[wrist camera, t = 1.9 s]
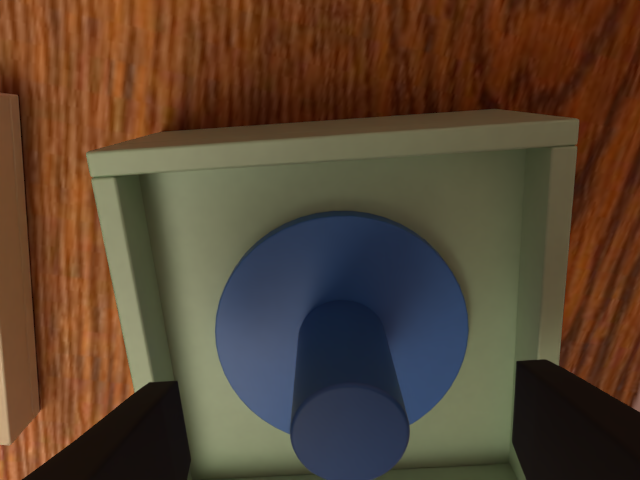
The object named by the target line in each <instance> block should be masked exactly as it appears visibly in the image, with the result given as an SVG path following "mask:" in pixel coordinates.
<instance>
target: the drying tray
mask: <svg viewBox="0 0 640 480" xmlns="http://www.w3.org/2000/svg"><path fill="white" fill-rule="evenodd" d="M39 412H40V407H39V392H38V378H37V363H36V348H35V334H34V319H33V304H32V290H31V275H30V260H29V246H28V231H27V216H26V202H25V187H24V172H23V157H22V143H21V128H20V113H19V99H18V95H16V94H7V93H0V445H11V444H12V443H13V442H14V440H15V439H16V438H17V437H18V436H19V435H20V434H21V432H22V431H23V430H24V429H25V428H26V427H27V426H28V424H29V423H30V422H31V421H32V419H34V418H35V417H36V415H37V414H38V413H39Z"/></svg>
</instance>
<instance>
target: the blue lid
mask: <svg viewBox="0 0 640 480" xmlns="http://www.w3.org/2000/svg"><path fill="white" fill-rule="evenodd" d="M468 332H469V327H468V313H467V308H466V303H465V299H464V296H463V293H462V291H461V288H460V285H459V283H458V282H457V280H456V278H455V276H454V274H453V272H452V271H451V269H450V268H449V267H448V265H447V264H446V262H445V261H444V260H443V258H442V257H441V256H440V254H439V253H438V252H437V251H436V250H435V249H434V248H433V247H432V246H431V245H430V244H429V243H428V242H427V241H426V240H425V239H423V238H422V237H421V236H419V235H418V234H417V233H415V232H414V231H412V230H410V229H409V228H407V227H405V226H403V225H402V224H400V223H397V222H395V221H393V220H390V219H388V218H385V217H382V216H378V215H374V214H370V213H364V212H357V211H329V212H321V213H315V214H311V215H307V216H303V217H300V218H297V219H295V220H292V221H290V222H287V223H285V224H283V225H281V226H280V227H278V228H276V229H274V230H272V231H271V232H269V233H268V234H267V235H265V236H264V237H263V238H261V239H260V240H259V241H257V242H256V243H255V244H254V245H253V246H252V247H251V248H250V249H249V250H248V251H247V252H246V253H245V254H244V256H243V257H242V258H241V260H240V261H239V262H238V264H237V265H236V266H235V268H234V270H233V272H232V273H231V275H230V277H229V279H228V281H227V283H226V285H225V287H224V290H223V293H222V295H221V298H220V300H219V305H218V309H217V314H216V323H215V338H216V348H217V352H218V357H219V361H220V363H221V366H222V369H223V371H224V374H225V376H226V378H227V380H228V381H229V383H230V385H231V387H232V388H233V390H234V391H235V393H236V394H237V395H238V397H239V398H240V399H241V400H242V401H243V402H244V404H245V405H246V406H247V407H248V408H249V409H250V410H251V411H253V412H254V413H255V414H256V415H257V416H259V417H260V418H261V419H262V420H264V421H266V422H267V423H269V424H270V425H272V426H273V427H275V428H277V429H279V430H281V431H283V432H286V433H288V434H290V439H291V444H292V447H293V450H294V452H295V454H296V456H297V457H298V459H299V460H300V462H301V463H302V464H303V465H304V466H305V467H306V468H307V469H308V470H309V471H311V472H312V473H314V474H315V475H317V476H319V477H321V478H323V479H326V480H373V479H375V478H377V477H380V476H382V475H383V474H385V473H387V472H388V471H389V470H390V469H392V468H393V467H394V466H395V465H396V464H397V463H398V462H399V460H400V459H401V458H402V456H403V454H404V452H405V450H406V448H407V445H408V442H409V437H410V425H411V424H413V423H414V422H416V421H417V420H419V419H420V418H422V417H423V416H424V415H425V414H427V413H428V412H429V411H430V410H431V409H432V408H433V407H434V406H435V405H436V404H437V403H438V402H439V401H440V400H441V399H442V398H443V397H444V395H445V394H446V393H447V391H448V390H449V389H450V387H451V386H452V384H453V382H454V380H455V379H456V377H457V375H458V373H459V370H460V368H461V365H462V363H463V360H464V356H465V352H466V348H467V342H468Z"/></svg>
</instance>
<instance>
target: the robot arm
mask: <svg viewBox="0 0 640 480" xmlns="http://www.w3.org/2000/svg"><path fill="white" fill-rule="evenodd" d="M512 444H513V447H514V449H515V452H516V455H517V457H518V460H519V463H520V465H521V468H522V470H523V473H524V475H525V478H526V480H640V412H638V411H637V410H635V409H633V408H631V407H630V406H628V405H626V404H624V403H623V402H621V401H619V400H617V399H616V398H614V397H612V396H610V395H609V394H607V393H605V392H603V391H602V390H600V389H598V388H597V387H595V386H593V385H591V384H590V383H588V382H586V381H585V380H583V379H581V378H579V377H578V376H576V375H574V374H573V373H571V372H569V371H567V370H566V369H564V368H562V367H560V366H558V365H556V364H554V363H552V362H550V361H548V360H546V359H541V360H524V361H516V378H515V395H514V413H513V430H512ZM190 463H191V455H190V450H189V444H188V438H187V433H186V427H185V421H184V415H183V410H182V404H181V398H180V392H179V387H178V381H162V382H149V383H148V384H146V385H145V386H143V387H142V388H140V389H139V390H138V391H137V392H135V393H134V394H133V395H131V396H130V397H129V398H128V399H126V400H125V401H124V402H123V403H121V404H120V405H119V406H118V407H116V408H115V409H114V410H113V411H112V412H110V413H109V414H108V415H107V416H105V417H104V418H103V419H102V420H100V421H99V422H98V423H97V424H95V425H94V426H93V427H92V428H90V429H89V430H88V431H87V432H85V433H84V434H83V435H82V436H80V437H79V438H78V439H77V440H75V441H74V442H73V443H71V444H70V445H69V446H67V447H66V448H65V449H63V450H62V451H60V452H59V453H58V454H56V455H55V456H54V457H52V458H51V459H50V460H48V461H47V462H46V463H44V464H43V465H41V466H40V467H39V468H37V469H36V470H35V471H33V472H32V473H31V474H29V475H28V476H27V477H25V478H24V479H22V480H187V478H188V473H189V468H190Z"/></svg>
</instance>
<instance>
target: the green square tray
mask: <svg viewBox="0 0 640 480" xmlns="http://www.w3.org/2000/svg"><path fill="white" fill-rule="evenodd" d="M578 131H579V119H576V118H569V117H560V116H552V115H544V114H535V113H526V112H518V111H509V110H501V109H486V110H471V111H457V112H442V113H428V114H413V115H399V116H384V117H369V118H355V119H340V120H326V121H311V122H296V123H282V124H267V125H253V126H238V127H223V128H209V129H194V130H180V131H165V132H158V133H155V134H151V135H147V136H144V137H140V138H136V139H133V140H129V141H125V142H122V143H118V144H114V145H111V146H107V147H103V148H100V149H96V150H92V151H89V152H87V153H86V157H87V162H88V167H89V172H90V175H91V177H94V178H92V186H93V191H94V196H95V201H96V206H97V211H98V216H99V220H100V225H101V230H102V235H103V240H104V245H105V250H106V255H107V260H108V265H109V269H110V274H111V279H112V284H113V289H114V294H115V299H116V304H117V309H118V313H119V318H120V323H121V328H122V333H123V338H124V343H125V348H126V353H127V358H128V362H129V367H130V372H131V377H132V382H133V387H134V392H137V391H138V390H139V389H140V388H142V387H143V386H145V385H146V384H148V383H149V382H162V381H178V387H179V392H180V398H181V404H182V410H183V415H184V421H185V427H186V433H187V438H188V444H189V450H190V455H191V463H190V468H189V473H188V478H187V480H326V479H323V478H321V477H319V476H317V475H315V474H314V473H312V472H311V471H309V470H308V469H307V468H306V467H305V466H304V465H303V464H302V463H301V462H300V460H299V459H298V457H297V456H296V454H295V452H294V450H293V447H292V444H291V439H290V434H288V433H286V432H283V431H281V430H279V429H277V428H275V427H273V426H272V425H270V424H269V423H267V422H266V421H264V420H262V419H261V418H260V417H259V416H257V415H256V414H255V413H254V412H253V411H251V410H250V409H249V408H248V407H247V406H246V405H245V404H244V402H243V401H242V400H241V399H240V398H239V397H238V395H237V394H236V393H235V391H234V390H233V388H232V387H231V385H230V383H229V381H228V380H227V378H226V376H225V374H224V371H223V369H222V366H221V363H220V361H219V357H218V352H217V348H216V338H215V323H216V314H217V309H218V305H219V300H220V298H221V295H222V293H223V290H224V287H225V285H226V283H227V281H228V279H229V277H230V275H231V273H232V272H233V270H234V268H235V266H236V265H237V264H238V262H239V261H240V260H241V258H242V257H243V256H244V254H245V253H246V252H247V251H248V250H249V249H250V248H251V247H252V246H253V245H254V244H255V243H256V242H257V241H259V240H260V239H261V238H263V237H264V236H265V235H267V234H268V233H269V232H271V231H272V230H274V229H276V228H278V227H280V226H281V225H283V224H285V223H287V222H290V221H292V220H295V219H297V218H300V217H303V216H307V215H311V214H315V213H321V212H329V211H357V212H364V213H370V214H374V215H378V216H382V217H385V218H388V219H390V220H393V221H395V222H397V223H400V224H402V225H403V226H405V227H407V228H409V229H410V230H412V231H414V232H415V233H417V234H418V235H419V236H421V237H422V238H423V239H425V240H426V241H427V242H428V243H429V244H430V245H431V246H432V247H433V248H434V249H435V250H436V251H437V252H438V253H439V254H440V256H441V257H442V258H443V260H444V261H445V262H446V264H447V265H448V267H449V268H450V269H451V271H452V272H453V274H454V276H455V278H456V280H457V282H458V283H459V285H460V288H461V291H462V293H463V296H464V299H465V303H466V308H467V313H468V327H469V332H468V342H467V348H466V352H465V356H464V360H463V363H462V365H461V368H460V370H459V373H458V375H457V377H456V379H455V380H454V382H453V384H452V386H451V387H450V389H449V390H448V391H447V393H446V394H445V395H444V397H443V398H442V399H441V400H440V401H439V402H438V403H437V404H436V405H435V406H434V407H433V408H432V409H431V410H430V411H429V412H428V413H427V414H425V415H424V416H423V417H422V418H420V419H419V420H417V421H416V422H414V423H413V424H411V425H410V437H409V442H408V445H407V448H406V450H405V452H404V454H403V456H402V458H401V459H400V460H399V462H398V463H397V464H396V465H395V466H394V467H393V468H392V469H390V470H389V471H388V472H387V473H385V474H383V475H382V476H380V477H377V478H375V479H373V480H526V478H525V475H524V473H523V470H522V468H521V465H520V463H519V460H518V457H517V455H516V452H515V449H514V447H513V444H512V430H513V413H514V395H515V378H516V361H524V360H541V359H546V360H548V361H550V362H552V363H554V364H556V365H558V366H559V357H560V345H561V334H562V322H563V310H564V298H565V287H566V275H567V263H568V251H569V239H570V228H571V216H572V204H573V192H574V181H575V169H576V157H577V146H575V145H576V144H577V142H578Z"/></svg>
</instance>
